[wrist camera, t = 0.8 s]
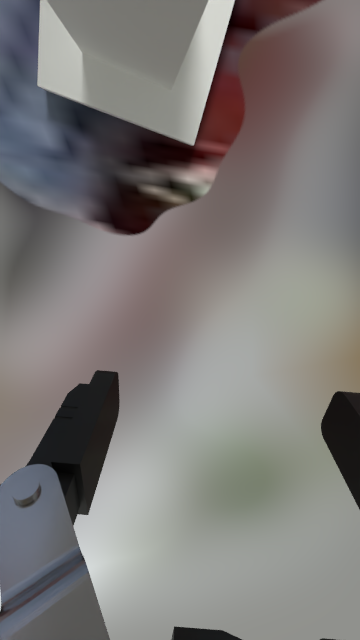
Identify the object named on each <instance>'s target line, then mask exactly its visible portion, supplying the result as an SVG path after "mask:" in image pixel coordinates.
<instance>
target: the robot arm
mask: <svg viewBox="0 0 360 640" xmlns="http://www.w3.org/2000/svg"><path fill="white" fill-rule="evenodd" d="M118 412H119V380H118V373H117V372H110V371H98V370H97V371H96V372H95V374H94V376H93V378H92V380H91V382H90V384H79V385H78V386H77V387H75V388H74V389H73V390H72V391H70V392H69V393H68V394H67V396H66V398H65V400H64V401H63V403H62V405H61V408H59V410H58V412H57V414H56V416H55V419H53V421H52V423H51V424H50V426H49V428H48V430H47V431H46V433H45V435H44V437H43V438H42V440H41V442H40V444H39V445H38V447H37V449H36V451H35V452H34V454H33V456H32V458H31V459H30V461H29V463H28V464H27V465H26V466H25V467H24V468H21V469H19V470H17V471H16V472H14V473H13V474H12V475H10V476H9V477H8V478H7V479H6V480H5V481H4V482H3V483H2V484H1V485H0V589H1V611H0V640H110V638H109V635H108V632H107V629H106V626H105V622H104V619H103V616H102V613H101V610H100V606H99V604H98V600H97V597H96V594H95V591H94V587H93V584H92V581H91V578H90V575H89V571H88V569H87V565H86V562H85V560H84V557H83V556H82V553H81V550H80V547H79V544H78V541H77V537H76V535H75V531H74V528H73V525H74V522H75V519H76V516H77V514H83V515H88V513H89V510H90V507H91V503H92V500H93V497H94V494H95V490H96V487H97V484H98V481H99V477H100V474H101V471H102V467H103V464H104V461H105V458H106V454H107V451H108V447H109V444H110V441H111V438H112V435H113V431H114V428H115V425H116V421H117V418H118ZM321 431H322V435H323V438H324V440H325V442H326V444H327V446H328V448H329V450H330V452H331V454H332V456H333V458H334V460H335V462H336V464H337V466H338V468H339V469H340V472H341V474H342V476H343V478H344V479H345V482H346V483H347V486H348V487H349V489H350V491H351V493H352V495H353V497H354V499H355V501H356V503H357V505H358V507H359V509H360V393H352V392H340V391H338V392H336V393H335V394H334V395H333V397H332V400H331V402H330V404H329V406H328V409H327V410H326V413H325V415H324V417H323V419H322V423H321ZM172 640H242V639H240V638H238V637H235V636H233V635H231V634H229V633H227V632H224V631H222V630H210V629H197V628H184V627H174V630H173V635H172ZM320 640H334V639H320Z"/></svg>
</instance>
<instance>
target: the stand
mask: <svg viewBox="0 0 360 640" xmlns="http://www.w3.org/2000/svg"><path fill="white" fill-rule="evenodd" d="M234 2H235V0H40V21H39V52H38V84H37V86H39V87H40V88H42V89H44V90H46V91H48V92H51V93H54V94H56V95H59V96H61V97H64V98H67V99H69V100H72V101H75V102H77V103H80V104H83V105H85V106H88V107H90V108H93V109H96V110H98V111H101V112H104V113H106V114H109V115H112V116H114V117H117V118H119V119H122V120H125V121H127V122H130V123H133V124H135V125H138V126H141V127H143V128H146V129H148V130H151V131H154V132H156V133H159V134H162V135H164V136H167V137H169V138H172V139H175V140H177V141H180V142H183V143H185V144H188V145H191V146H192V145H194V143H195V139H196V136H197V132H198V129H199V125H200V122H201V118H202V115H203V111H204V108H205V104H206V101H207V97H208V93H209V90H210V86H211V83H212V79H213V76H214V72H215V69H216V65H217V62H218V58H219V55H220V51H221V48H222V44H223V41H224V37H225V33H226V30H227V26H228V23H229V19H230V16H231V12H232V9H233V5H234Z"/></svg>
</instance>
